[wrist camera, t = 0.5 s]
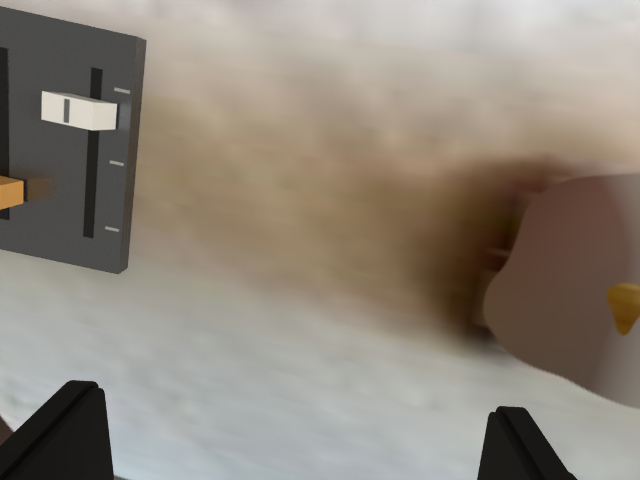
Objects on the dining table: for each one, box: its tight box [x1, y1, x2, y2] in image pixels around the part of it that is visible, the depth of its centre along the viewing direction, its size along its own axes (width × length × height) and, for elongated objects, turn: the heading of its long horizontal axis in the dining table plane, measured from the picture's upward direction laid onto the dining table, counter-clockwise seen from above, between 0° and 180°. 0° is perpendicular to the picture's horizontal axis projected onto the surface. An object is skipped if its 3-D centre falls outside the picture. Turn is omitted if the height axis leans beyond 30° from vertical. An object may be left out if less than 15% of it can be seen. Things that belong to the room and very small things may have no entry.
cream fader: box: [41, 91, 117, 130], centre depth 38 cm, size 2×4×4 cm, turn 78°
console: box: [0, 6, 146, 274], centre depth 43 cm, size 24×16×2 cm, turn 168°
